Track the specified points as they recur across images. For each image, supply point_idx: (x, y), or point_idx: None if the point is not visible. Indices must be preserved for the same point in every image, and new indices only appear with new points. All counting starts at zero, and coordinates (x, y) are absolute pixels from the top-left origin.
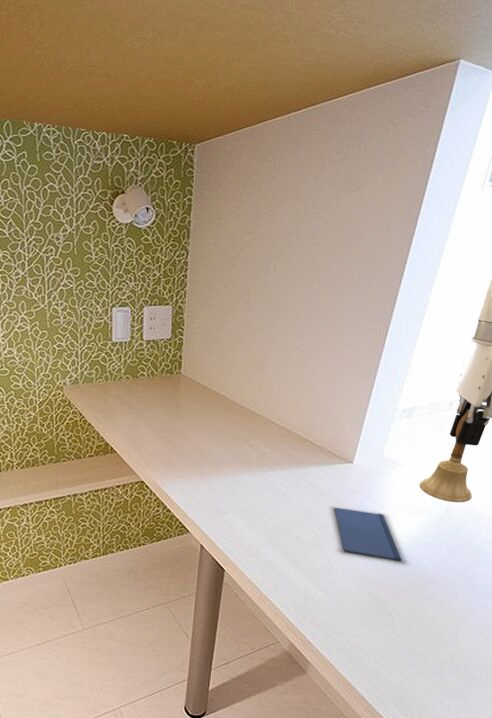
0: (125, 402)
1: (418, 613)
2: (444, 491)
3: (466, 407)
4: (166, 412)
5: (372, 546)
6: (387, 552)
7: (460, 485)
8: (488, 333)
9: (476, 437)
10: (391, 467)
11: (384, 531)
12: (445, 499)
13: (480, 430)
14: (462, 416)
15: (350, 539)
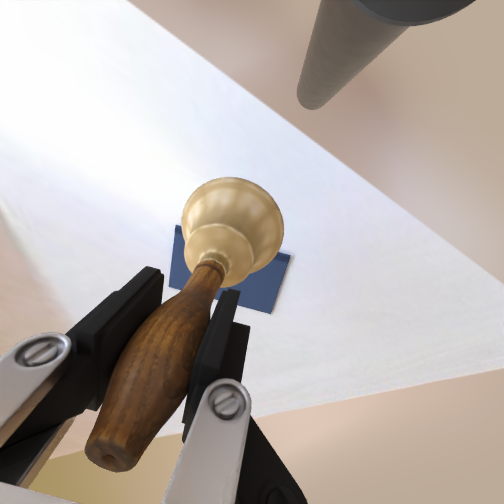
0: None
1: (387, 284)
2: (263, 260)
3: (23, 424)
4: None
5: (261, 278)
6: (275, 266)
7: (262, 236)
8: None
9: (247, 339)
10: None
11: None
12: (275, 254)
13: (225, 346)
14: (97, 392)
15: (247, 298)
